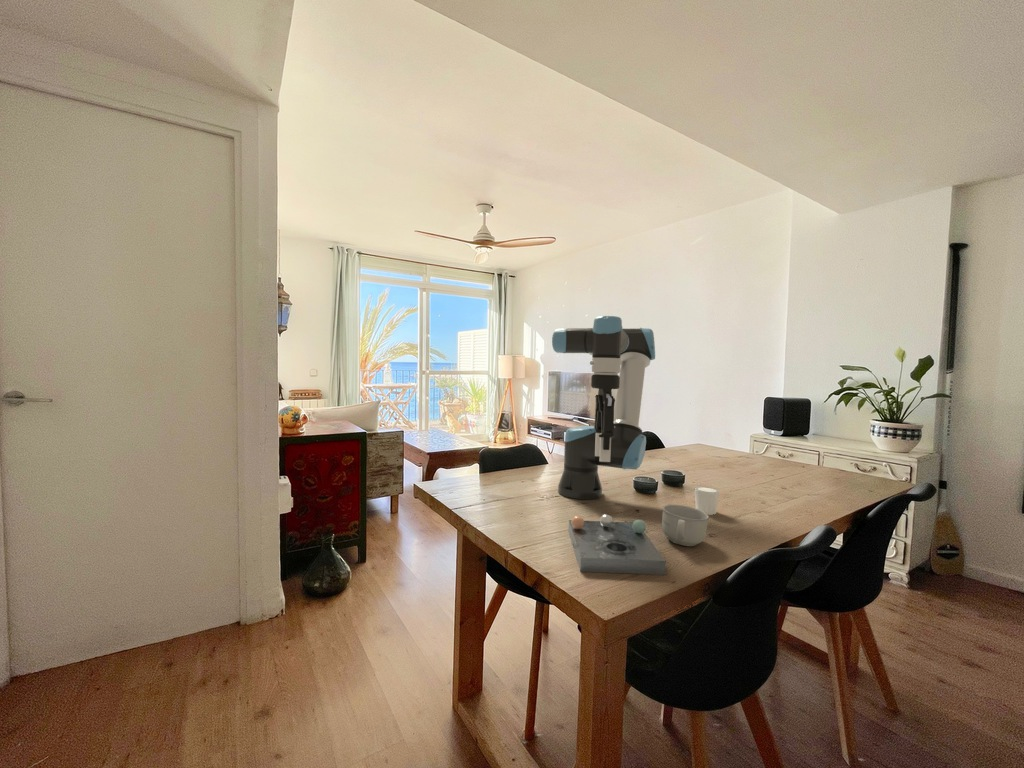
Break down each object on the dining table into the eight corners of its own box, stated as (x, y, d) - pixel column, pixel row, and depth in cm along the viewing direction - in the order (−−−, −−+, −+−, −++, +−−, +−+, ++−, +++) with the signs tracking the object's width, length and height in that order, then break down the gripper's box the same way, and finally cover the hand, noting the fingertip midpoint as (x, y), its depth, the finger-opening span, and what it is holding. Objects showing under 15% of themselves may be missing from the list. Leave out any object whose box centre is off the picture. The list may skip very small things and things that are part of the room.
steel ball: (598, 524, 108) (598, 512, 108) (610, 524, 108) (611, 512, 108) (600, 529, 105) (601, 516, 105) (613, 529, 105) (614, 517, 105)
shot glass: (689, 510, 130) (690, 488, 130) (699, 506, 135) (700, 485, 135) (712, 517, 125) (713, 494, 125) (721, 512, 130) (722, 490, 130)
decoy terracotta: (570, 526, 107) (570, 513, 106) (583, 526, 106) (583, 514, 106) (572, 531, 103) (572, 518, 103) (585, 531, 103) (585, 518, 103)
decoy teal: (630, 530, 105) (631, 517, 105) (643, 530, 105) (643, 518, 105) (634, 535, 102) (634, 522, 102) (647, 535, 102) (647, 522, 102)
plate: (568, 531, 111) (568, 520, 111) (636, 533, 111) (637, 522, 111) (580, 571, 89) (580, 557, 89) (665, 574, 89) (666, 560, 89)
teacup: (669, 529, 114) (670, 500, 114) (712, 541, 108) (713, 510, 107) (650, 545, 104) (651, 513, 103) (696, 559, 97) (698, 525, 96)
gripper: (586, 373, 123) (583, 451, 124) (598, 374, 104) (594, 466, 105) (611, 373, 123) (608, 452, 124) (628, 375, 104) (624, 467, 105)
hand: (602, 458), depth 114 cm, fingers open, 6 cm apart
